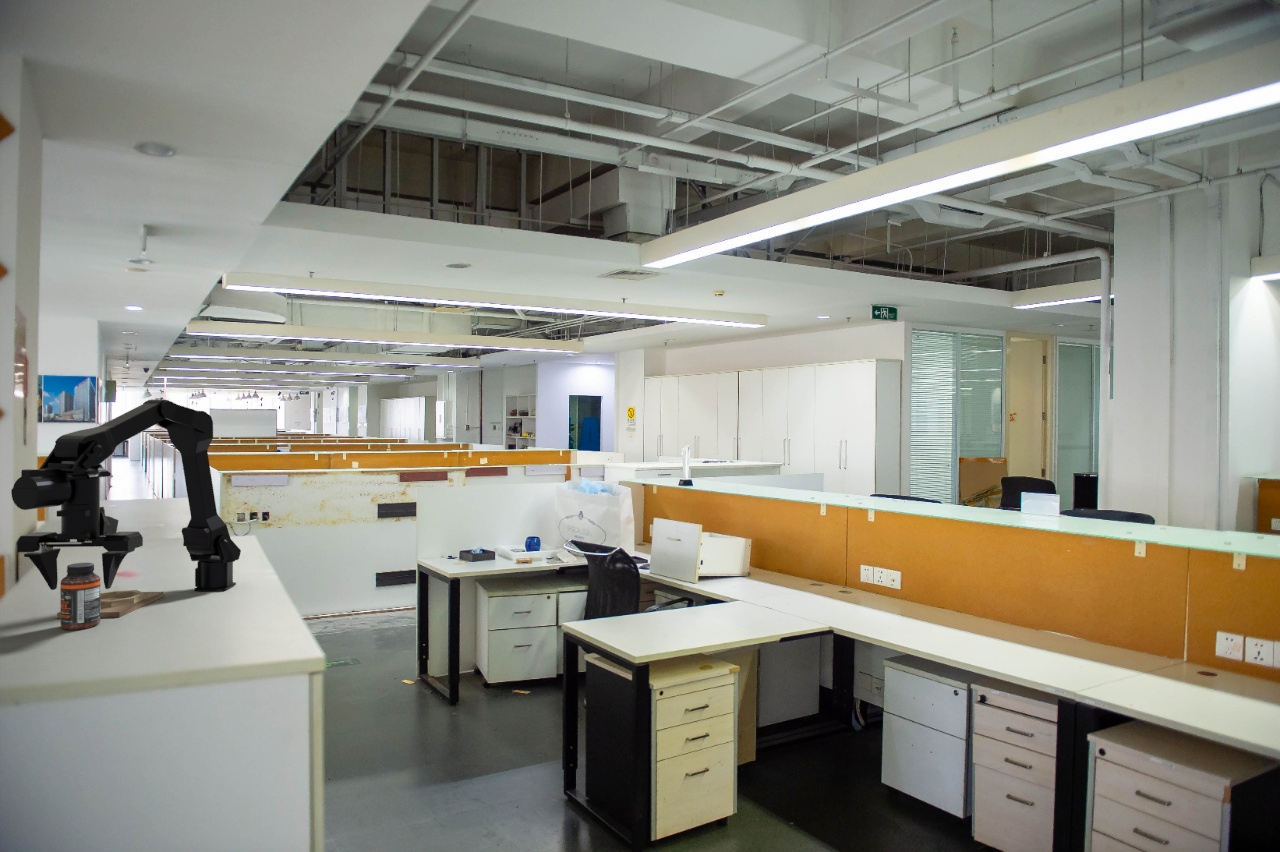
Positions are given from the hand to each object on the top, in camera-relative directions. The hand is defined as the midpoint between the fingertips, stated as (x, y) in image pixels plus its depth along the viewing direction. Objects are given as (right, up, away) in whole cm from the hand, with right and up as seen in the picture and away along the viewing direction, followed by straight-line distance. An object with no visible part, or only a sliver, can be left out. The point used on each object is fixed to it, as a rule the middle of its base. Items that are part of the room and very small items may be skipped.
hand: (81, 589), depth 143 cm
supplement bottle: (0, -7, 0) cm, 7 cm away
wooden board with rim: (-4, -7, +14) cm, 16 cm away
